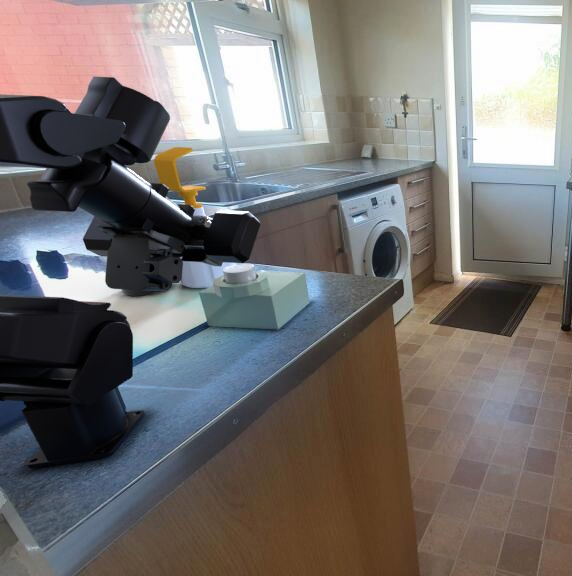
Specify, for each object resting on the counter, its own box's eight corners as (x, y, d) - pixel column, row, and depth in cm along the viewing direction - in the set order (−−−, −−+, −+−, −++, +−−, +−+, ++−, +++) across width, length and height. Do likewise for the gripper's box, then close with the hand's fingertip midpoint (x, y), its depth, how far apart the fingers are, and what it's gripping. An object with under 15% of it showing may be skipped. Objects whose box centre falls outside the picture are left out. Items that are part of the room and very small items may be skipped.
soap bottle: (249, 275, 83) (220, 147, 73) (208, 291, 75) (170, 151, 65) (213, 269, 85) (181, 145, 75) (169, 285, 77) (127, 147, 67)
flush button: (246, 286, 60) (243, 273, 59) (219, 285, 60) (216, 272, 60) (262, 276, 64) (259, 264, 63) (237, 275, 64) (234, 263, 63)
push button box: (273, 334, 62) (263, 288, 59) (201, 330, 62) (187, 284, 59) (310, 302, 72) (303, 262, 69) (248, 299, 72) (239, 259, 69)
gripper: (-5, 263, 40) (131, 314, 55) (182, 272, 40) (269, 321, 54) (49, 171, 44) (163, 241, 59) (218, 179, 44) (291, 247, 58)
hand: (219, 263), depth 57 cm, fingers closed
